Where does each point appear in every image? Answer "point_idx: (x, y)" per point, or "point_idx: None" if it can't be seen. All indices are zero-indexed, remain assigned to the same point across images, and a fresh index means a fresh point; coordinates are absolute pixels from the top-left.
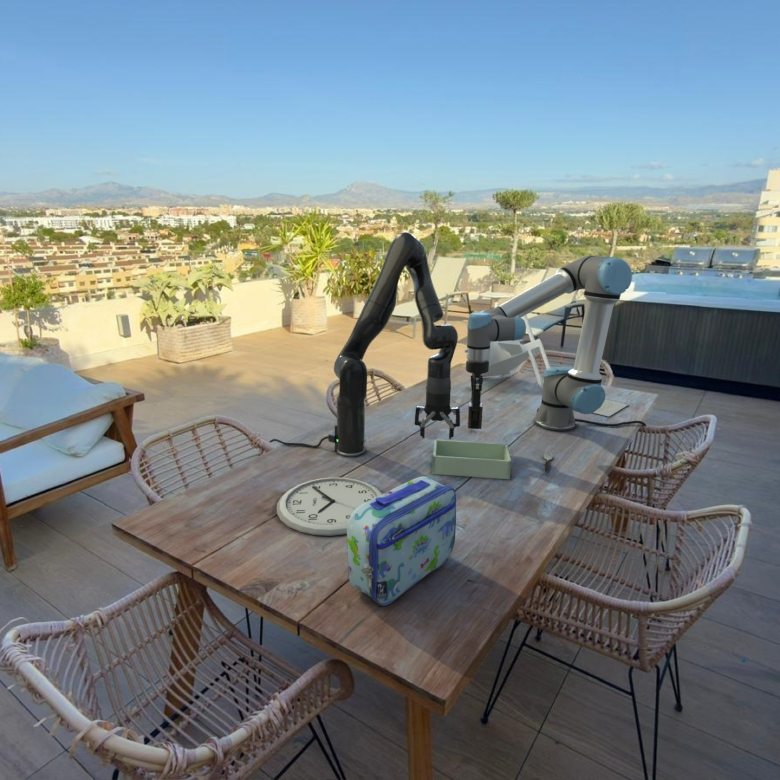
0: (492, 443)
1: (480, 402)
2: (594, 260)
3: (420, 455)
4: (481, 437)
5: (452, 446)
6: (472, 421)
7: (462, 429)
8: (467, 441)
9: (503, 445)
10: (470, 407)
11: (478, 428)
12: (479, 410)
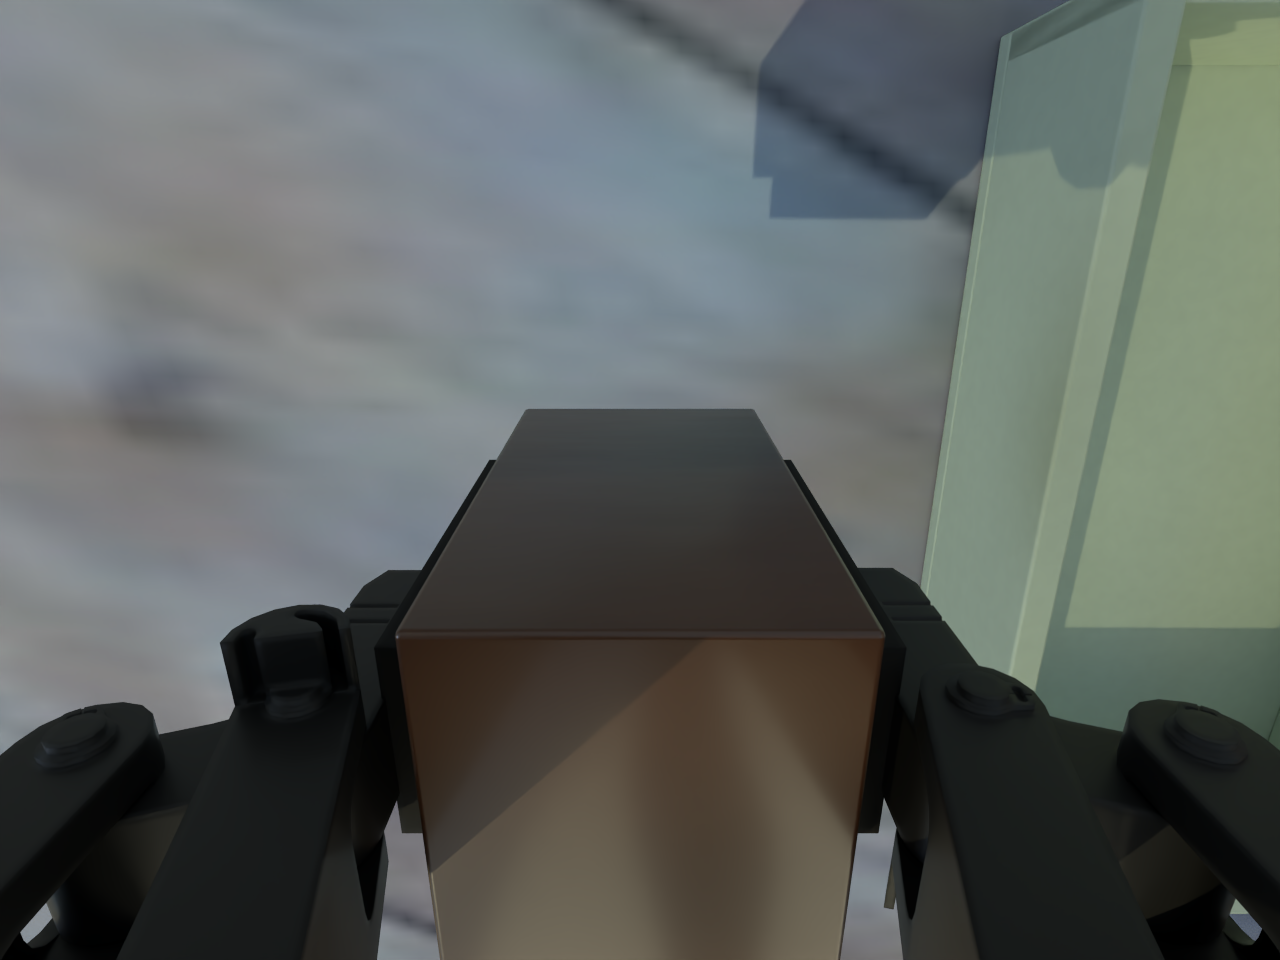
0: (1127, 227)
1: (265, 643)
2: None
3: (886, 858)
4: (317, 308)
5: None
6: None
7: (140, 519)
8: (1032, 582)
9: (1170, 32)
10: (839, 918)
11: (792, 466)
12: (1246, 738)
